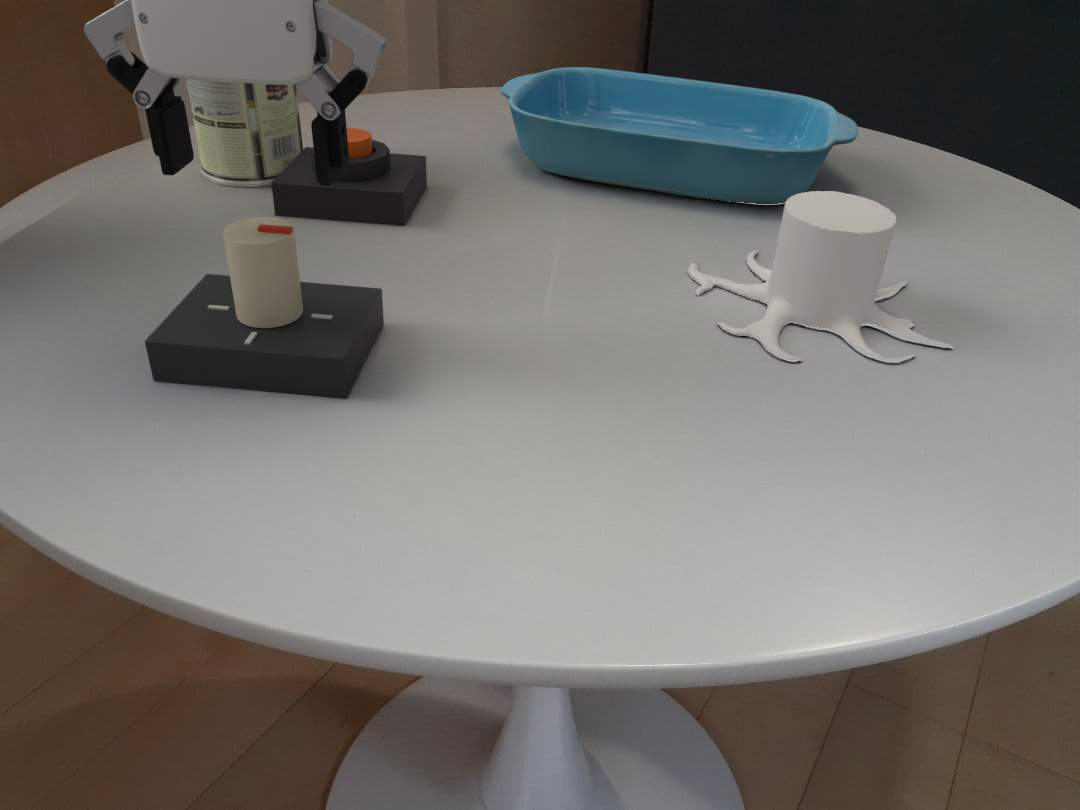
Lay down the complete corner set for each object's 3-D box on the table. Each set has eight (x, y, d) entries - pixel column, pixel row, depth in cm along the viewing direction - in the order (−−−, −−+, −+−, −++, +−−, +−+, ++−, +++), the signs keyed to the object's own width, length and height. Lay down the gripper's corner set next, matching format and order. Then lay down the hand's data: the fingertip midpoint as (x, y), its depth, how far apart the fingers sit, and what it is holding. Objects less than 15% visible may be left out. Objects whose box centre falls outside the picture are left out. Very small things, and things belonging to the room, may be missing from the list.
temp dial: (226, 325, 61) (211, 236, 57) (250, 295, 65) (237, 210, 61) (291, 331, 61) (280, 242, 57) (311, 300, 64) (302, 215, 61)
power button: (323, 159, 83) (321, 140, 82) (335, 145, 87) (334, 126, 86) (366, 162, 83) (365, 143, 82) (377, 148, 87) (376, 129, 86)
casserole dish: (844, 157, 104) (859, 93, 100) (842, 231, 86) (860, 157, 82) (532, 118, 112) (535, 56, 108) (471, 178, 94) (471, 107, 90)
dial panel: (153, 380, 61) (143, 339, 59) (213, 309, 69) (206, 271, 67) (347, 398, 60) (343, 356, 58) (384, 324, 68) (381, 286, 66)
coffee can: (226, 149, 98) (205, 7, 90) (320, 158, 97) (307, 15, 89) (181, 183, 90) (154, 30, 82) (283, 193, 88) (265, 38, 81)
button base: (274, 216, 84) (268, 162, 81) (308, 178, 92) (303, 128, 89) (404, 226, 83) (402, 173, 80) (427, 187, 91) (425, 137, 89)
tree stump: (920, 268, 80) (947, 178, 76) (967, 384, 64) (1004, 280, 60) (690, 243, 83) (703, 154, 78) (680, 349, 67) (696, 246, 62)
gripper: (389, -146, 50) (405, 162, 60) (84, -159, 51) (147, 145, 61) (352, -137, 44) (376, 205, 53) (5, -152, 45) (89, 185, 55)
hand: (254, 173), depth 57 cm, fingers open, 9 cm apart
